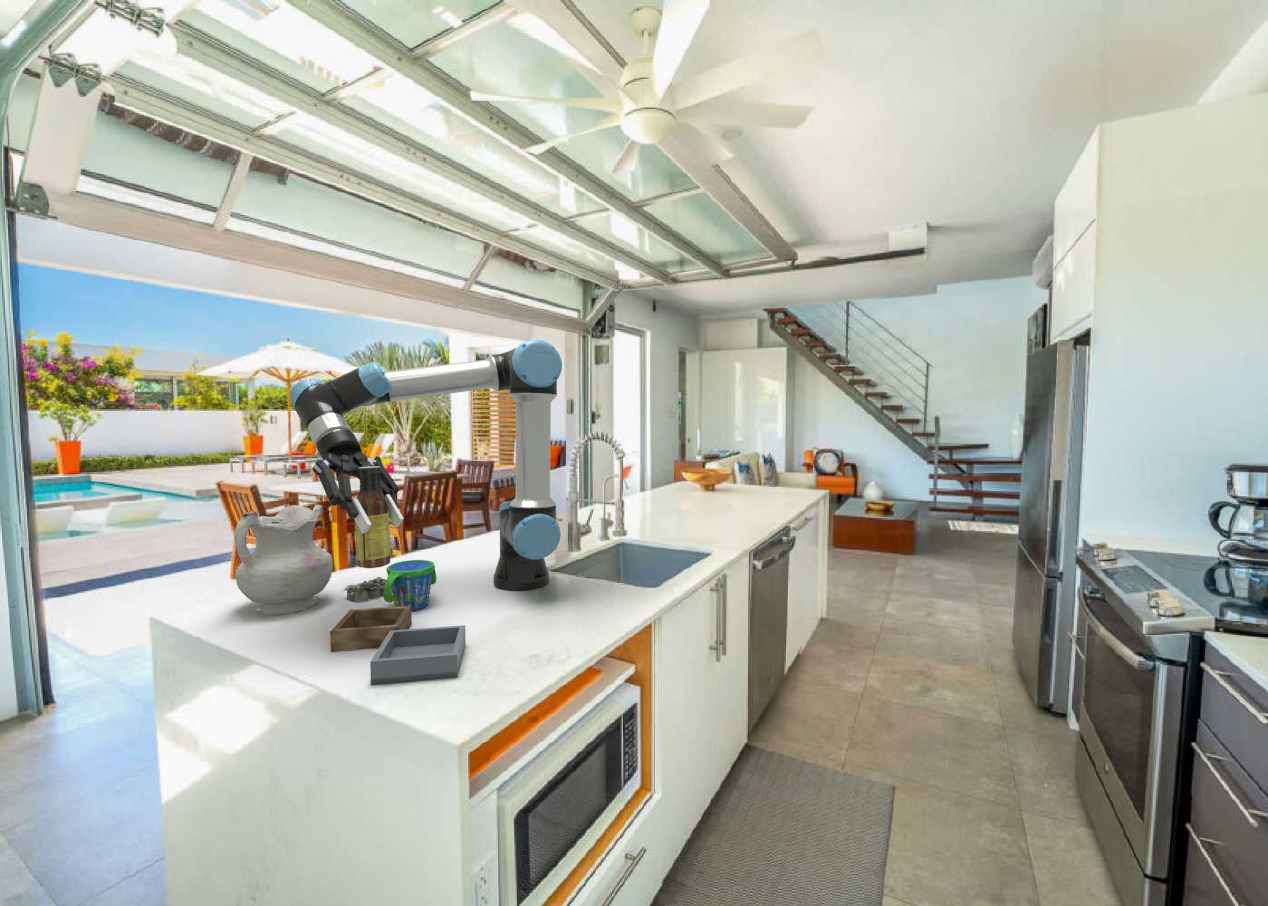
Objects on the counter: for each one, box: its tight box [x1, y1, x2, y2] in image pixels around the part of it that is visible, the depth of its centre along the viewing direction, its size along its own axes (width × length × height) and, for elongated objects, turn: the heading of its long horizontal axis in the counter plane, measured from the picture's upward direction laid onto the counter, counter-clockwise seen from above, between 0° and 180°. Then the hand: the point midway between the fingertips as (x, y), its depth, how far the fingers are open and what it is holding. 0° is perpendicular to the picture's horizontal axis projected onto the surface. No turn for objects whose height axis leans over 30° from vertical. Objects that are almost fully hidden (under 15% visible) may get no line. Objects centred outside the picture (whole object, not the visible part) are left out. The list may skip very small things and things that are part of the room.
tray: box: [369, 624, 467, 686], centre depth 99 cm, size 14×14×4 cm
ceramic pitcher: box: [233, 503, 334, 617], centre depth 127 cm, size 22×20×25 cm
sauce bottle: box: [354, 466, 392, 569], centre depth 107 cm, size 6×6×20 cm
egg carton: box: [343, 576, 387, 603], centre depth 138 cm, size 10×7×4 cm
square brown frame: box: [329, 606, 413, 652], centre depth 111 cm, size 12×12×4 cm
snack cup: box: [382, 559, 438, 612], centre depth 129 cm, size 16×10×10 cm
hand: (383, 525), depth 105 cm, fingers closed on sauce bottle, 6 cm apart
